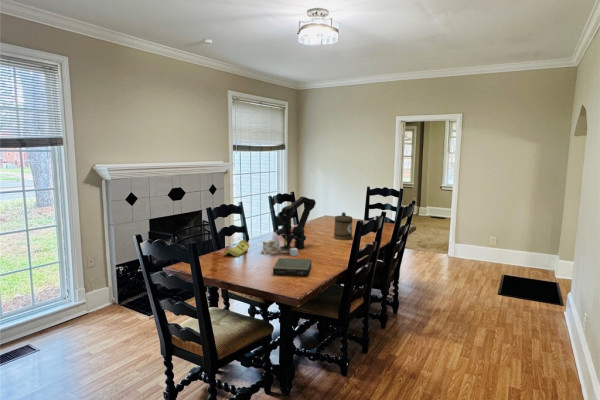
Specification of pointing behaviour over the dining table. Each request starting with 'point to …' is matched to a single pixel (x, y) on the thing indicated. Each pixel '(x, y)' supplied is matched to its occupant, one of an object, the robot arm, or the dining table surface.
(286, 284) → the dining table surface
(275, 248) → the mounted unit
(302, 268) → the network switch
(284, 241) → the brass cylinder
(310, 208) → the robot arm
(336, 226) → the wooden container
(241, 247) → the curled yellow paper
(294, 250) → the grey block
